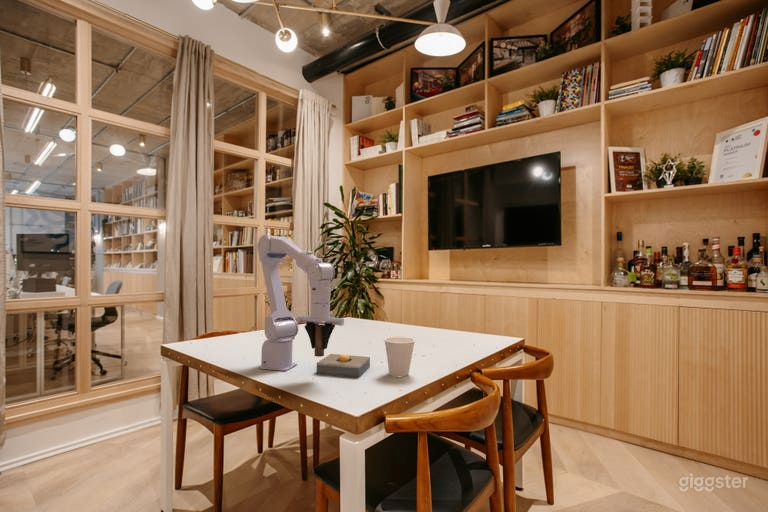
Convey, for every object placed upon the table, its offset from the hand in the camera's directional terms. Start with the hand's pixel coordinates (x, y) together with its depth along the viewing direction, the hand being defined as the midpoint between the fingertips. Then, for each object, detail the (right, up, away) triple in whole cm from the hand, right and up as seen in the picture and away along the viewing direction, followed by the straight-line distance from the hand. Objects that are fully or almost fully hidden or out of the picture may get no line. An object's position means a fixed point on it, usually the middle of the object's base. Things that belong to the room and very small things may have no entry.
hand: (319, 348), depth 112 cm
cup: (+24, -10, +6) cm, 27 cm away
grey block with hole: (+6, -10, +10) cm, 15 cm away
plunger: (+6, -7, +10) cm, 13 cm away
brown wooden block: (0, -2, 0) cm, 2 cm away
